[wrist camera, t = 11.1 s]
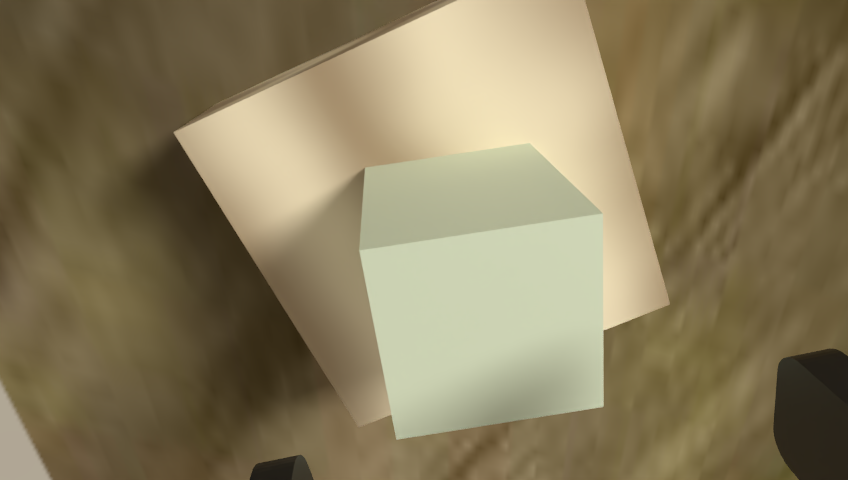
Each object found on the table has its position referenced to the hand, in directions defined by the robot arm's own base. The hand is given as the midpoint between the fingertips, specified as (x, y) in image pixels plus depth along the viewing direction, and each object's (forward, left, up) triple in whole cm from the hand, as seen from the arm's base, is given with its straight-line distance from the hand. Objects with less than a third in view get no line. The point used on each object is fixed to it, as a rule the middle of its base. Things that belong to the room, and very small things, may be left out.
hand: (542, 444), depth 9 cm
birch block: (+1, 0, -14) cm, 14 cm away
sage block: (0, 0, -9) cm, 9 cm away
